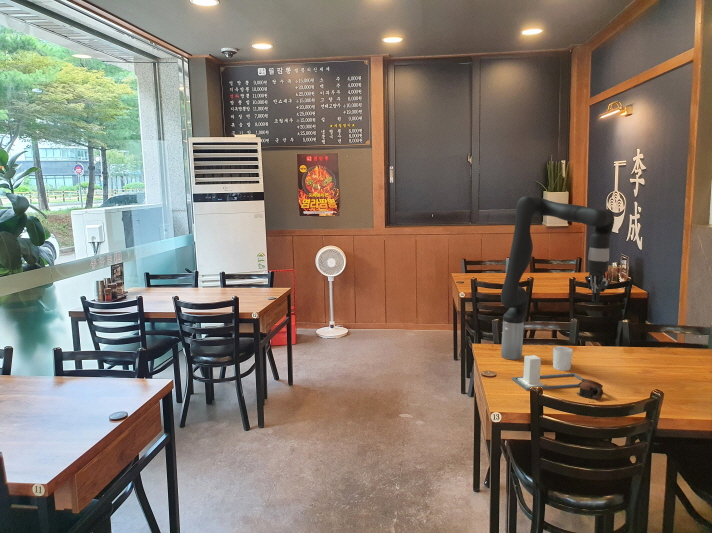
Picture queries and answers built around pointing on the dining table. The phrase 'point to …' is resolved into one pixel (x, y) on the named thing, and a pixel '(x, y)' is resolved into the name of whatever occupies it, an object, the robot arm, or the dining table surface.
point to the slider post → (531, 372)
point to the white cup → (562, 358)
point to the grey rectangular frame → (551, 377)
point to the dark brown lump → (588, 386)
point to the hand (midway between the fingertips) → (595, 301)
